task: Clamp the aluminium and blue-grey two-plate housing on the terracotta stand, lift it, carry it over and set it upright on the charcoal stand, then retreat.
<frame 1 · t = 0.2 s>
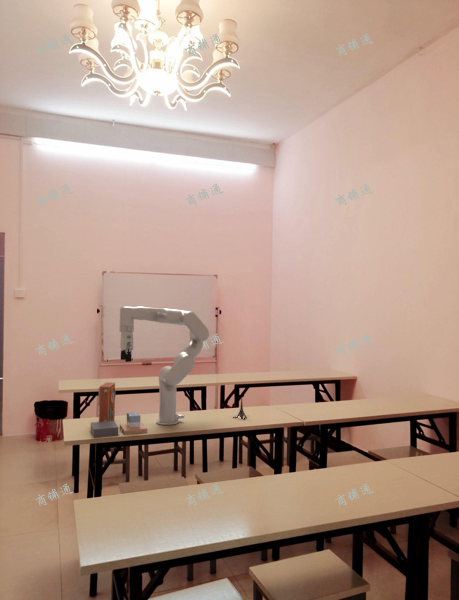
hand: (125, 360, 254), 36 cm above the table, tool pointing down, fingers open, 9 cm apart
housing: (133, 426, 247), point 2 cm above the table, touching terracotta stand
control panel: (106, 423, 261), on the table
eiffel tower figurine: (241, 419, 277), on the table
charcoal stand: (104, 432, 241), on the table
terracotta stand: (133, 429, 247), on the table
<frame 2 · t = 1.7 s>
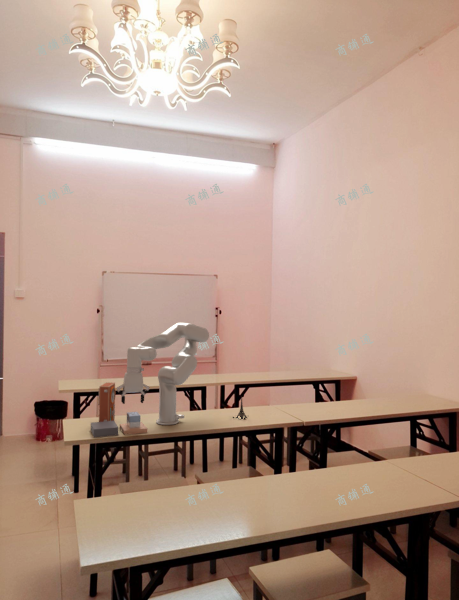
hand: (132, 403, 247), 14 cm above the table, tool pointing down, fingers open, 9 cm apart
nothing on the table moved.
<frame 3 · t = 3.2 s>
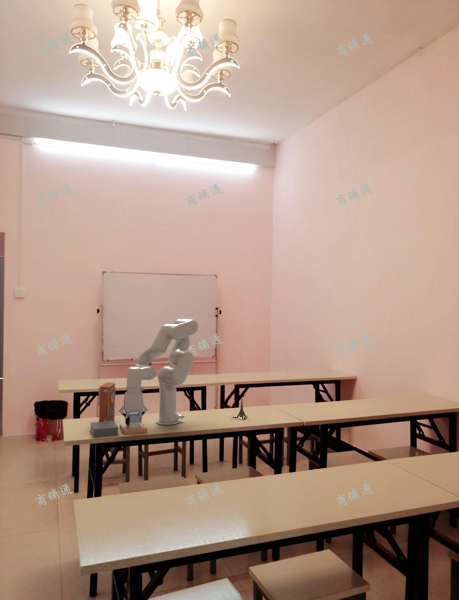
hand: (133, 424, 247), 3 cm above the table, tool pointing down, fingers closed on housing, 5 cm apart
housing: (133, 426, 247), point 2 cm above the table, touching gripper, terracotta stand
everything else where it was.
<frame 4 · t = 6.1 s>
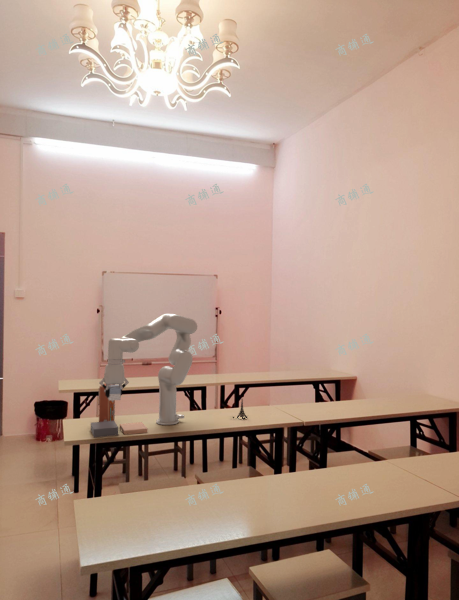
hand: (113, 396, 243), 18 cm above the table, tool pointing down, fingers closed on housing, 5 cm apart
housing: (113, 398, 243), point 17 cm above the table, touching gripper
everything else where it was.
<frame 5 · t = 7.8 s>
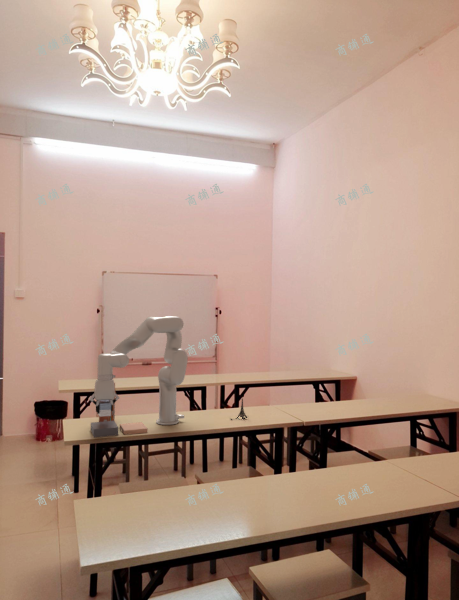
hand: (104, 412, 241), 10 cm above the table, tool pointing down, fingers closed on housing, 5 cm apart
housing: (104, 414, 241), point 9 cm above the table, touching gripper
everything else where it was.
when the fingers open (6 cm above the table, at t = 9.0 s): housing drops 1 cm, resting on charcoal stand.
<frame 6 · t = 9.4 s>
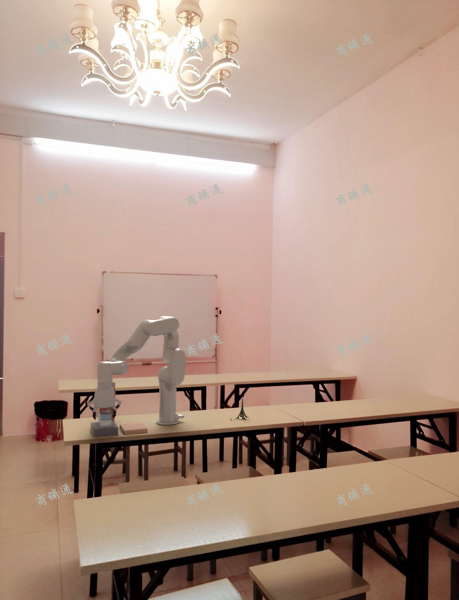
hand: (104, 418, 241), 7 cm above the table, tool pointing down, fingers open, 9 cm apart
housing: (104, 424, 241), point 4 cm above the table, touching charcoal stand
everything else where it was.
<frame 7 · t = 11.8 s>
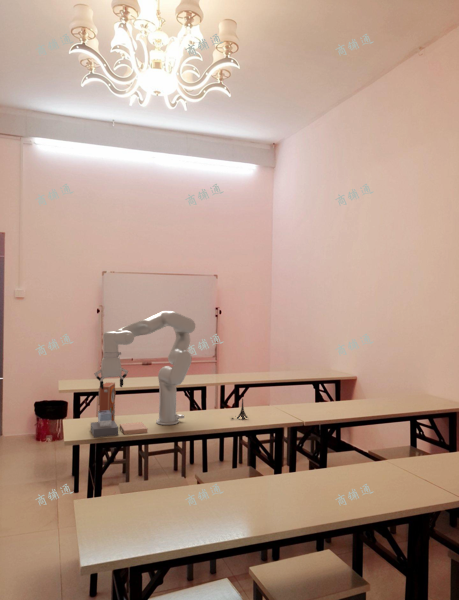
hand: (111, 387, 244), 23 cm above the table, tool pointing down, fingers open, 9 cm apart
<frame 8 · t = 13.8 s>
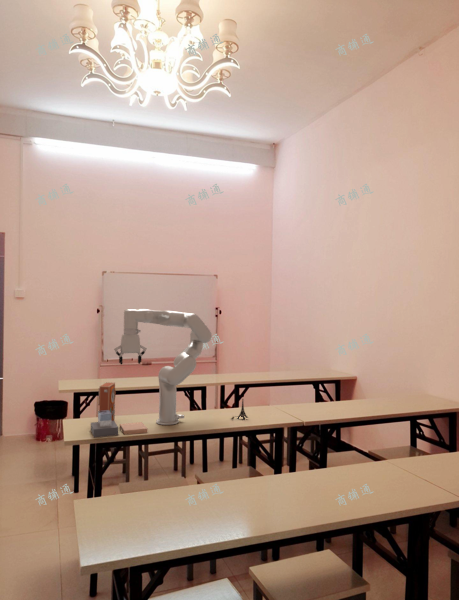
hand: (130, 363, 252), 34 cm above the table, tool pointing down, fingers open, 9 cm apart
at the end: housing 0.1 cm off-centre on the charcoal stand, point 4.0 cm above the charcoal stand's base; housing tilted 0°; the gripper is holding nothing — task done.
